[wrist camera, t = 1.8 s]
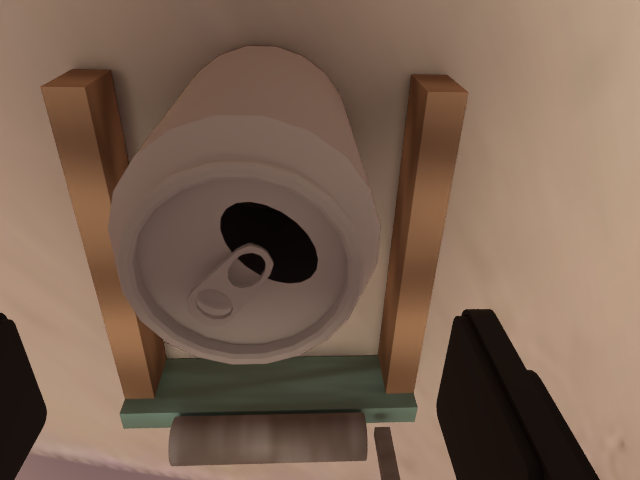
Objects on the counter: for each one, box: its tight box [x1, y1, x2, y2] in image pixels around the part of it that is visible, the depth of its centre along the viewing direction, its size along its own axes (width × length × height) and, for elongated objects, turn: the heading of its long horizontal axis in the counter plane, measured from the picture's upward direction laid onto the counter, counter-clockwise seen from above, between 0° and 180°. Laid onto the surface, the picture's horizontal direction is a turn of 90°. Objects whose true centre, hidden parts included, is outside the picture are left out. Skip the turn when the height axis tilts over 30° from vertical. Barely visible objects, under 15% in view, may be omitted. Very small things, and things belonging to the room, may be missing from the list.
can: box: [108, 46, 381, 364], centre depth 17 cm, size 8×8×12 cm
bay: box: [41, 69, 468, 480], centre depth 22 cm, size 19×16×9 cm
